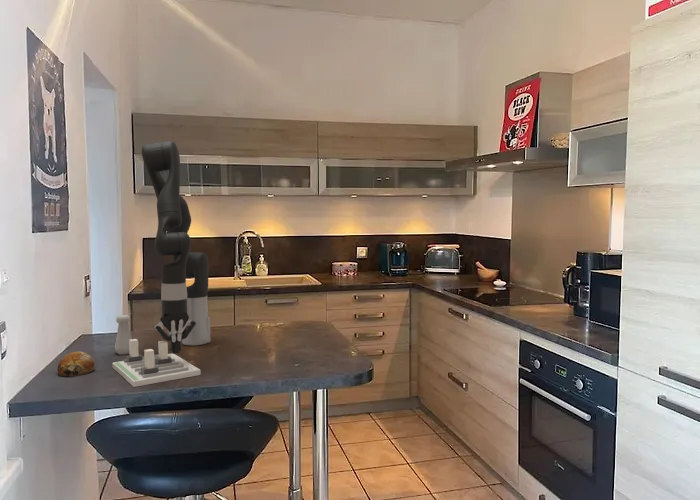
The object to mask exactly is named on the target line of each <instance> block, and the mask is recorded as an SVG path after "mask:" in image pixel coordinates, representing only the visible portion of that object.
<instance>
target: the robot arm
mask: <svg viewBox="0 0 700 500" xmlns="http://www.w3.org/2000/svg"><path fill="white" fill-rule="evenodd" d="M178 149H179V148H178V145H177V144H176V142H175V141H172V140H166V141H159V142H152V143H147V144H144V145H143V146H141V157H142V161H143V163H144V167H145V169H146V172H147V175H148V178H149V179H150V183H151V184H152V187H153V190H154V194H155V197H156V212H157V213H156V214H157V231H156V235H155V240H154V250H155V252H156V253H157V255H160V256H163V257H165V256H166V257H167V256H172V258H173V261H172V262H167V263H164V264H163V265H162V266H161V288H160V289H161V290H160V291H161V292H160V294H161V298H160V299H161V301H160V303H161V317H160V319H159V322H158V323H156V324H154V325H153V329H154V330H155V331H156V332H157V333H158V334H159V335H160V336H161V337H162V338H163V340H164V341H166V342H170V343H169V345H170V349H169V350H170V352H171V354H172V353H173V354H175V355H177V354H180V352H181V351H182V345H185V346H200V345H201V346H202V345H206V344H208V343H211V317H210V316H209V309H208V308H209V305H208V292H209V291H208V290H209V275H210V274H209V273H210V271H209V270H210V269H209V267H210V264H209V262H210V261H209V258H208V255H207V254H206V253H205V252H201V251H200V252H197V251H196V252H195V251H194V252H192V251H191V252H190V250H191V248H192V247H191V246H192V240H191V239H192V238H191V236H190V234H188V233H189V230H190V229H191V228H190V227H191V224H192V217H191V212H190V209H189V206H188V203H187V201H186V200H185V198H184V197H183V196H182V195H181V194H180V191H181V190H180V188H181V187H180V185H181V158H180V152H179V150H178ZM165 171H168V176H167V179H166V181H165V179H164V177H163V176H162V174H161V172H165ZM187 278H189V279H191V278H192V279H194V281H193V283H192V284H191V285H189V286H187ZM164 328H165V329H166V330H167V333H168V334H167V333H166V332H165V331H164Z"/></svg>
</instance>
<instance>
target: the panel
mask: <svg viewBox="0 0 700 500" xmlns="http://www.w3.org/2000/svg"><path fill="white" fill-rule="evenodd" d="M168 356H169V357H171V358H172V363H166V364H160V365H155V358H159V353H157V354H154V365H155V366H157V367H158V372H157V373H151V374H145V375H143V376H142V375H141V367H145V361H144V356H142V360H141V361H135V362H128V363H127V362H126V359H123V360H121V361H115V362H112V369H114V370H115V371H116V372H117V373H118V374H119V375H120V376H121V377H123V379H125V380H126V381H127V383H129V384H130V385H131V386H132V387H134V388H135V387H141V386H147V385H151V384H152V385H153V384H158V383H162V382H170V381H174V380H179V379H185V378H190V377H191V378H192V377H195V376H196V377H197V376H201V375H202V374H201V373H202V372H201V369H200V368H198V367H197V366H195V365H193V364H191V363H190V362H188V361H186V359H184V358H181V356H178V355H177V354H173V353H172V352H171V353H168Z"/></svg>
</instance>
